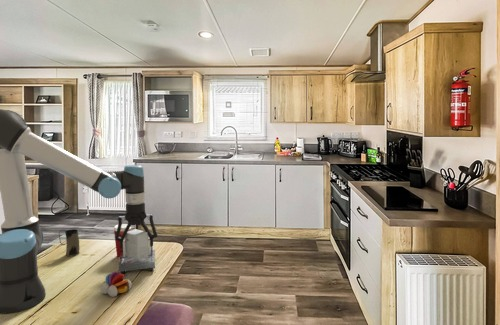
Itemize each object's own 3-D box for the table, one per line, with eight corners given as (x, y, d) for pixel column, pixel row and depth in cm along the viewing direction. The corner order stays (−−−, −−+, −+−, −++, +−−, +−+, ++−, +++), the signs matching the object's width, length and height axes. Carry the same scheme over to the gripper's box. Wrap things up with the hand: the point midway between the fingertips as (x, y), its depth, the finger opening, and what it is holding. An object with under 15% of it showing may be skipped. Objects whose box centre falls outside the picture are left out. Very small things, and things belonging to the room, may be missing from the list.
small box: (149, 256, 143) (148, 231, 142) (138, 260, 138) (137, 235, 137) (136, 252, 147) (135, 228, 146) (125, 256, 143) (124, 232, 142)
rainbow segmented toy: (115, 300, 116) (114, 280, 115) (97, 293, 121) (96, 273, 120) (135, 290, 123) (134, 271, 122) (117, 283, 128) (116, 265, 127)
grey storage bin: (118, 275, 135) (117, 249, 134) (122, 261, 148) (121, 238, 147) (154, 271, 139) (154, 246, 137) (155, 258, 152) (154, 235, 151)
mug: (80, 251, 161) (78, 226, 160) (79, 255, 156) (78, 229, 154) (61, 253, 158) (59, 228, 156) (59, 257, 153) (58, 232, 151)
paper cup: (126, 259, 151) (125, 228, 149) (111, 258, 152) (109, 227, 151) (135, 253, 158) (134, 223, 157) (120, 251, 160) (119, 222, 158)
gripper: (105, 206, 134) (107, 260, 137) (162, 203, 140) (164, 255, 142) (108, 202, 141) (110, 254, 144) (162, 199, 147) (164, 249, 149)
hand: (137, 254), depth 143 cm, fingers closed on small box, 9 cm apart
